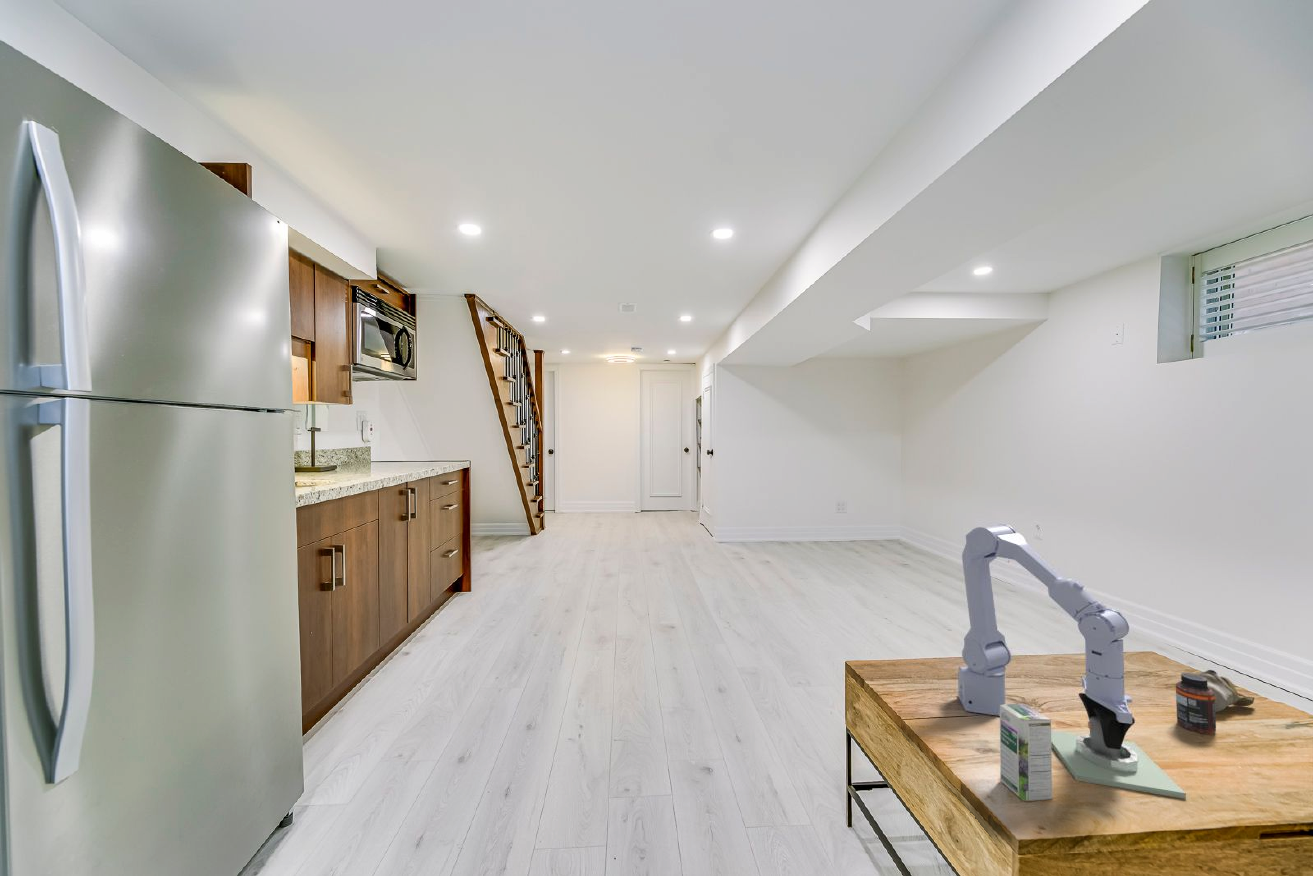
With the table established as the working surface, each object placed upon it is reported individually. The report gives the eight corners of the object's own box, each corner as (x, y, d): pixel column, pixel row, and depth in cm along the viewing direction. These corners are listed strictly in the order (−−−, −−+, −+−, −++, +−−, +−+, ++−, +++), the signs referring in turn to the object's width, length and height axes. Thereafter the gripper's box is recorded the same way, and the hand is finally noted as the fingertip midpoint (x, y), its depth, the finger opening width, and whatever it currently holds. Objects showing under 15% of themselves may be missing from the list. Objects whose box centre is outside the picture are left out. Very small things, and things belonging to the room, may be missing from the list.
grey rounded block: (1125, 762, 97) (1125, 730, 97) (1095, 757, 98) (1094, 726, 98) (1113, 748, 101) (1112, 718, 101) (1084, 744, 102) (1083, 714, 102)
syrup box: (998, 781, 94) (997, 703, 95) (1028, 778, 95) (1026, 702, 95) (1023, 802, 89) (1021, 720, 89) (1054, 800, 89) (1052, 718, 89)
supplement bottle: (1206, 723, 112) (1205, 673, 113) (1222, 738, 107) (1221, 684, 107) (1171, 718, 115) (1169, 668, 115) (1185, 731, 110) (1183, 679, 110)
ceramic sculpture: (1168, 665, 122) (1196, 657, 129) (1168, 701, 122) (1195, 691, 128) (1232, 684, 113) (1258, 674, 119) (1232, 723, 112) (1258, 711, 119)
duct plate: (1076, 780, 94) (1076, 775, 94) (1042, 733, 109) (1042, 729, 109) (1185, 799, 89) (1185, 793, 89) (1133, 747, 104) (1133, 742, 104)
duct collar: (1090, 767, 96) (1089, 757, 96) (1068, 741, 105) (1068, 731, 105) (1149, 776, 94) (1148, 766, 94) (1122, 749, 102) (1122, 739, 102)
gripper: (1152, 692, 91) (1154, 767, 91) (1109, 659, 105) (1111, 724, 105) (1104, 686, 94) (1106, 759, 93) (1069, 655, 107) (1070, 719, 107)
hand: (1106, 740), depth 99 cm, fingers closed on grey rounded block, 4 cm apart
